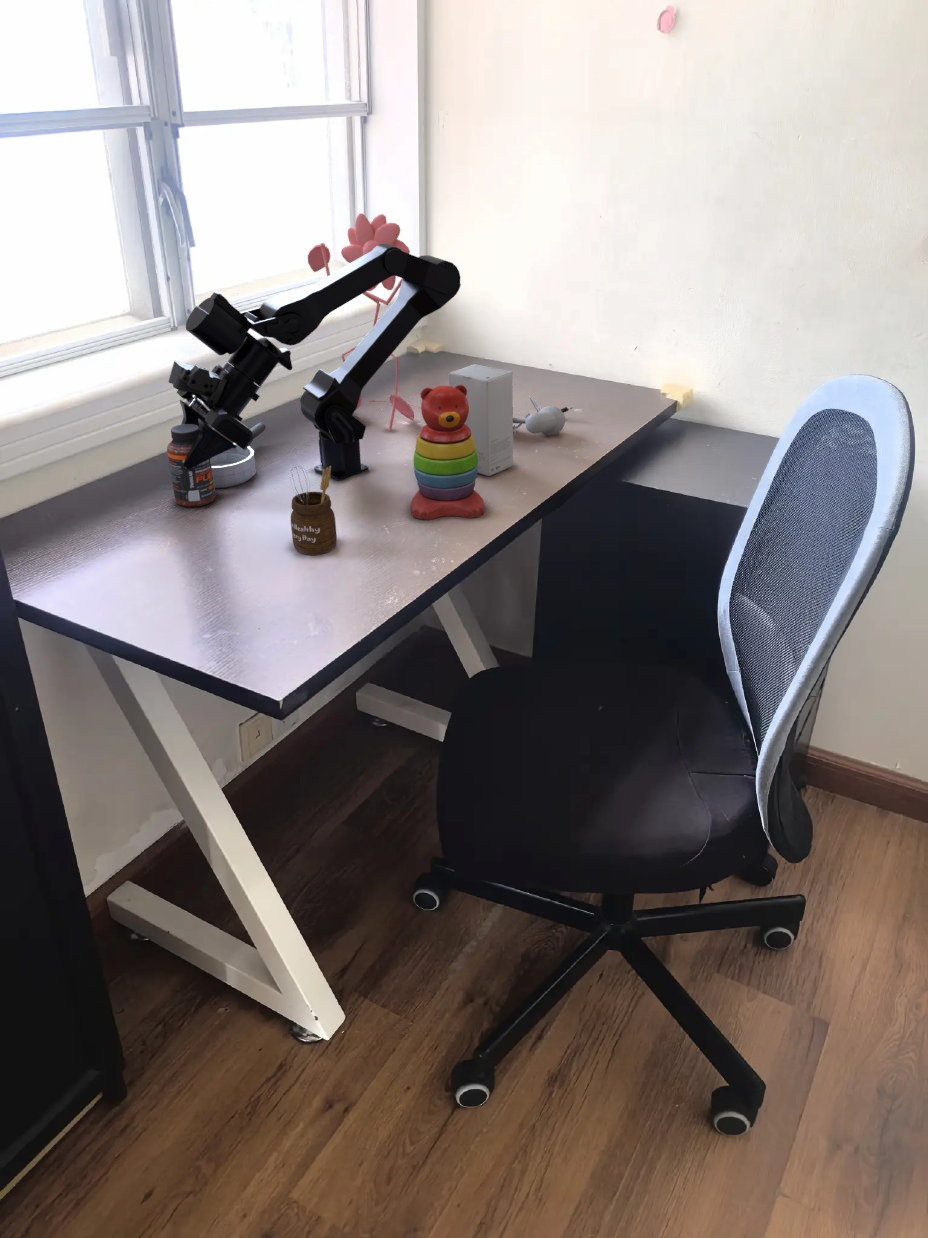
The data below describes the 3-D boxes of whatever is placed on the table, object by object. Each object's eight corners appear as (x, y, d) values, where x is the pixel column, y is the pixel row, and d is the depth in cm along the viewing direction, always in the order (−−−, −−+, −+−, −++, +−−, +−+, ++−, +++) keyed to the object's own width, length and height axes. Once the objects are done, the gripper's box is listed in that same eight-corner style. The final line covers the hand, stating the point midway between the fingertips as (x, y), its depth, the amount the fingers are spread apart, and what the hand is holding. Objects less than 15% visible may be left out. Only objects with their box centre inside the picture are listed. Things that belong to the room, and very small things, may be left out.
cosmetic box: (514, 467, 150) (516, 371, 142) (486, 478, 146) (487, 380, 138) (475, 454, 155) (476, 361, 147) (448, 465, 151) (447, 370, 143)
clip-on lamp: (523, 428, 175) (482, 436, 159) (524, 394, 173) (482, 398, 158) (582, 431, 170) (545, 440, 154) (583, 396, 168) (546, 401, 152)
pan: (270, 475, 147) (267, 454, 145) (210, 494, 140) (207, 473, 139) (231, 457, 154) (228, 437, 152) (172, 475, 147) (168, 455, 145)
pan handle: (238, 453, 150) (236, 443, 149) (229, 452, 150) (227, 443, 150) (267, 430, 160) (266, 421, 159) (259, 429, 160) (258, 420, 159)
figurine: (430, 439, 161) (425, 223, 143) (304, 419, 170) (285, 214, 153) (466, 413, 173) (465, 211, 155) (347, 396, 182) (334, 203, 165)
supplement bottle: (205, 510, 136) (194, 436, 130) (168, 506, 137) (155, 433, 131) (222, 494, 141) (212, 422, 135) (186, 491, 142) (174, 419, 136)
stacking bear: (411, 521, 132) (407, 399, 123) (408, 493, 141) (404, 377, 132) (486, 517, 133) (487, 396, 124) (478, 490, 142) (479, 375, 133)
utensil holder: (311, 533, 129) (303, 451, 123) (348, 543, 126) (341, 460, 120) (284, 549, 124) (274, 465, 118) (321, 560, 122) (313, 475, 115)
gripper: (180, 326, 135) (118, 411, 136) (218, 355, 121) (148, 449, 122) (239, 371, 143) (180, 452, 144) (281, 404, 129) (215, 493, 130)
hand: (179, 460), depth 135 cm, fingers closed on supplement bottle, 6 cm apart
